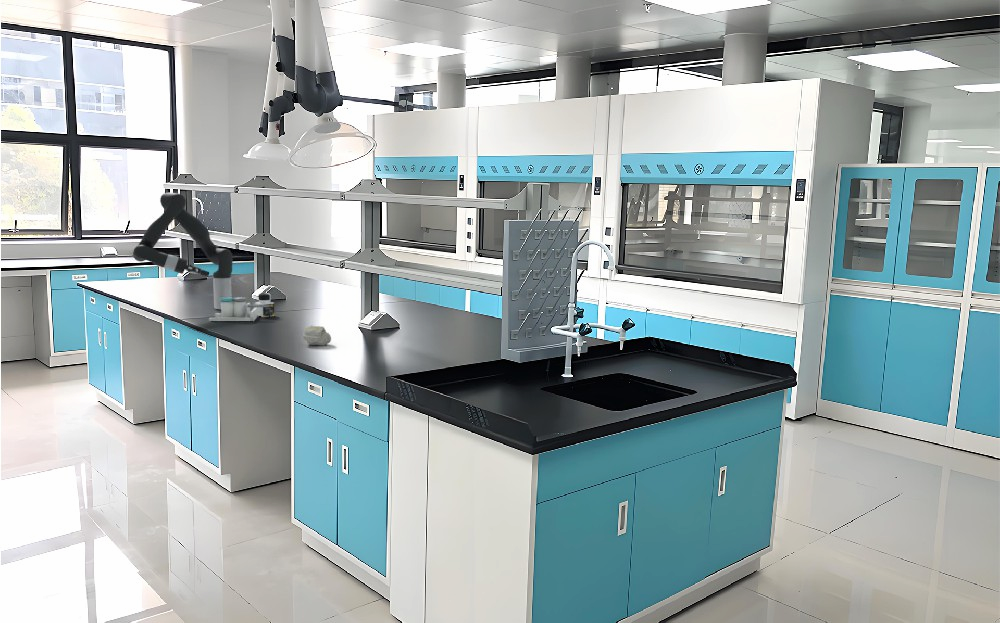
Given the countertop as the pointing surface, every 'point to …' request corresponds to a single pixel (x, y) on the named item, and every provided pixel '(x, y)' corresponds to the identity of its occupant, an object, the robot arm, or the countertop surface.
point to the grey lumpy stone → (316, 336)
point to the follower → (247, 306)
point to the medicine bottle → (265, 300)
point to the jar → (227, 307)
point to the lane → (252, 317)
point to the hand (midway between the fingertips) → (208, 274)
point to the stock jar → (239, 306)
